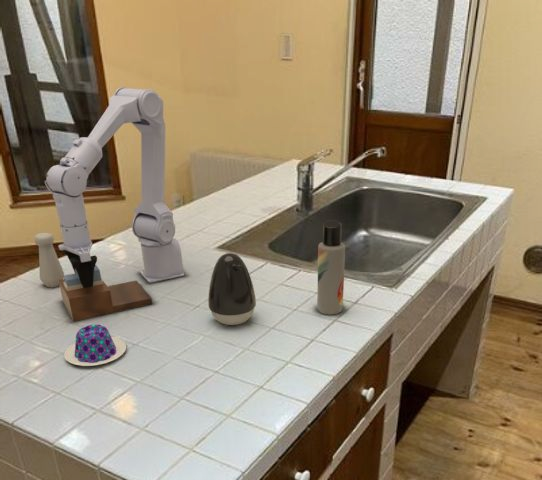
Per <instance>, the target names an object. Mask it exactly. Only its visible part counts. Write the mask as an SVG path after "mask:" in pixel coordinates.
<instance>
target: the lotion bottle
mask: <svg viewBox="0 0 542 480" xmlns="http://www.w3.org/2000/svg"><path fill="white" fill-rule="evenodd" d="M317 247H318V248H317V293H316V294H317V296H316V297H317V298H316V299H317V301H316V304H317V305H316V306H317V307H316V309H317V311H318V312H319V313H321V314H324V315H330V316H331V315H337V314H340V313H341V312H342V311H343V307H344V291H345V287H344V286H345V264H346V263H345V261H346V259H345V258H346V244H345V243H344V242H342V223H341V222H340V221H338V220H335V219H331V220H327V221H326V222H323V224H322V242H320V243H318V245H317Z"/></svg>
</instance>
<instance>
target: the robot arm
mask: <svg viewBox="0 0 542 480" xmlns="http://www.w3.org/2000/svg"><path fill="white" fill-rule="evenodd" d="M129 123H131V124H132V125H133V126H134V127H135V128H136V129H137V130H138V132H139V133H140V135H141V138H140V139H141V140H140V141H141V142H140V143H141V145H140V147H141V148H140V150H141V152H140V153H141V154H140V155H141V156H140V158H141V166H140V167H141V169H140V171H141V173H140V174H141V177H140V178H141V181H140V183H141V185H140V186H141V198H140V199H141V200H140V203H139V204H138V205H137V206H136V207H135V208H134V216H133V218H132V222H131V230H132V233H133V235H134V236H135V237H136V238H138V239H137V240H138V242H139V243H140V249H141V255H142V256H141V257H142V262H143V270H140V271H139V273H140V275H141V276H142V277H143V278H144V279H145V280H146V281H147V282H148V283H149V284H151V283H156V282H160V281H165V280H170V279H175V278H180V277H184V276H185V273H184V266H183V256H182V248H181V245H180V243H179V240H178V239H177V238H175V234H176V225H175V222H174V213H173V211H172V210H171V208H169V206H168V205H167V204H166V203H165V191H166V189H165V187H166V185H165V184H166V123H165V118H164V100H163V99H162V97H160V95H159V94H158V93H157V91H155V90H154V89H150V88H145V89H143V88H142V89H140V88H130V87H129V88H128V87H126V86H125V87H123V86H121V87H119V88H117V89H116V90H114V93H113V95H111V96H110V97H109V99H108V106H107V107H106V109H105V111H104V112H103V114H102V115H101V117H100V118H99V119H98V122H97V123H96V124H95V125H94V128H93V129H92V130H91V131H90V133H89V135H88V136H86V137H84V136H81V137H79V138H78V139H77V138H76V139H74V141H73V142H72V144H73V146H72V147H71V148H70V149H69V151H68V152H67V153H66V154H65V155H64V157H61V159H60V160H59V164H56V165H53V166H51V167H50V168H49V169H48V171H47V173H46V180H44V184H45V187H46V188H47V190H49V192H51V195H52V199H53V200H54V202H55V208H56V212H57V217H58V222H59V227H60V232H61V237H62V242H63V243H61V244H58V245H57V246H58V249H59V251H63V253H64V255H66V257H67V258H68V259H69V262H70V264H71V267H72V270H73V272H74V274H75V273H76V272H75V269H76V271H77V273H78V276H79V279H80V282H81V284H82V286H83V288H88V287H92V286H93V280H94V268H95V265H97V262H98V256H97V255H95V254H94V255H91V250H92V247H93V241H92V240H91V235H90V228H89V224H88V218H87V212H86V211H87V210H86V207H85V201H84V195H83V193H84V192H85V191H86V189H87V185H88V183H87V181H88V179H89V175H90V174H91V173H92V171H93V170H94V169H95V167H96V166H97V165H98V163H99V162H100V161H101V159H103V149H102V148H103V147H104V146H106V144H107V143H108V142H110V139H111V138H112V137H114V135H115V134H116V133H117V131H119V130H120V128H122V126H123V125H125V124H129Z"/></svg>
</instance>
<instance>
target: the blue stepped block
mask: <svg viewBox="0 0 542 480" xmlns="http://www.w3.org/2000/svg"><path fill="white" fill-rule="evenodd" d="M75 272H76V273H75ZM75 272H74V273H71V274H66V275H65V274H64V278H63V279H64V280H65V282H63V283H64V286H65V288H66V290H67V291H71V290H76V289H81V288H83V286H82V284H81V282H80V279H79V276H78V273H77V271H76V269H75ZM101 278H102V275H101V270H100V268H99V267H98V266H97V264H95V268H94V280H93V286H96V285H101V284H103V281H104V280H103V279H101ZM102 280H103V281H102Z"/></svg>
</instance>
